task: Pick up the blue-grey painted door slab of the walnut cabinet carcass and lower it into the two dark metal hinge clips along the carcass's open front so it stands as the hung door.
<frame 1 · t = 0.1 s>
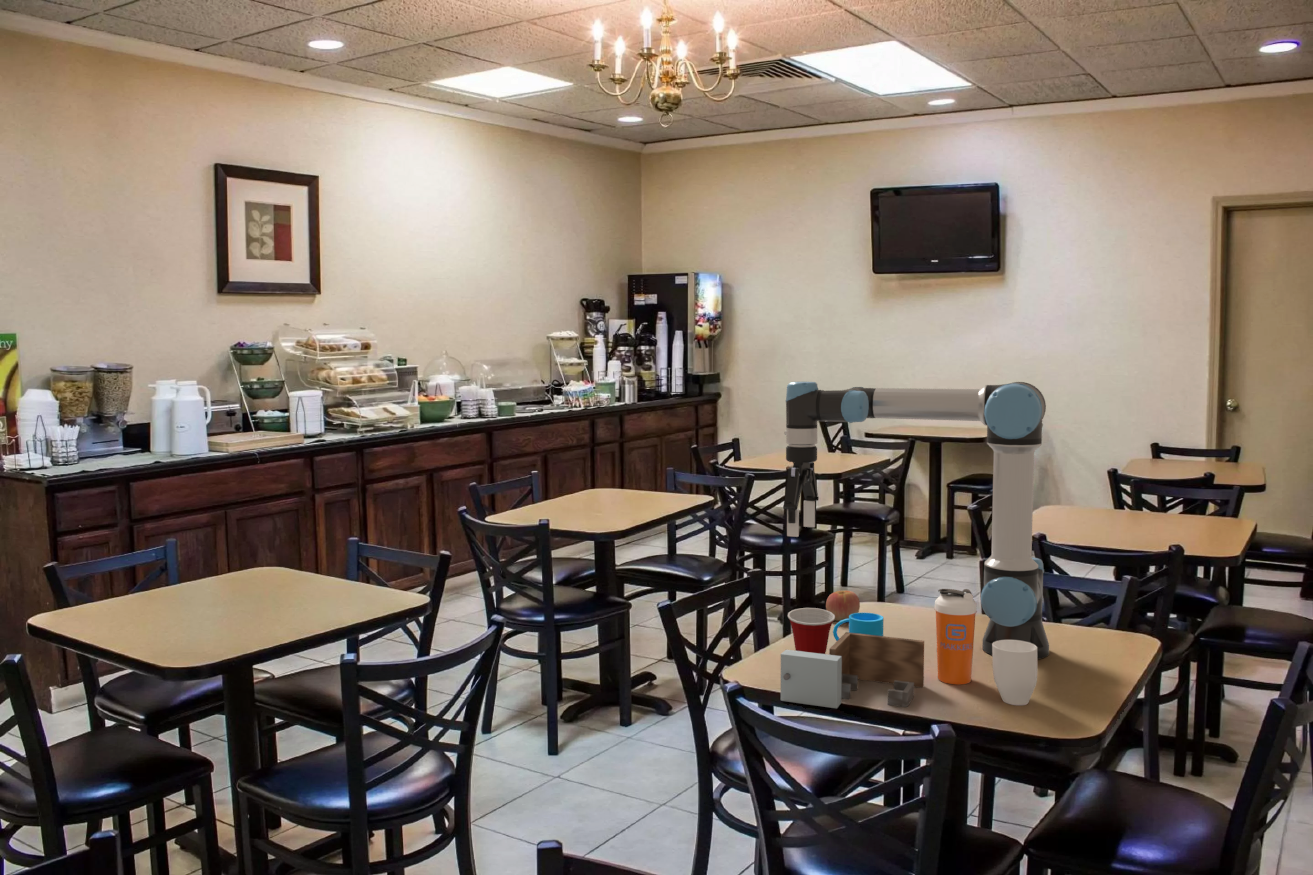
hand: (801, 531, 259), 28 cm above the table, fingers open, 13 cm apart
plastic cup: (811, 665, 244), on the table
apple: (842, 621, 282), on the table
shaker bottle: (954, 680, 233), on the table
cabinet: (872, 696, 222), on the table
door: (810, 701, 220), on the table
mug: (857, 650, 256), on the table
mug 2: (1012, 699, 220), on the table
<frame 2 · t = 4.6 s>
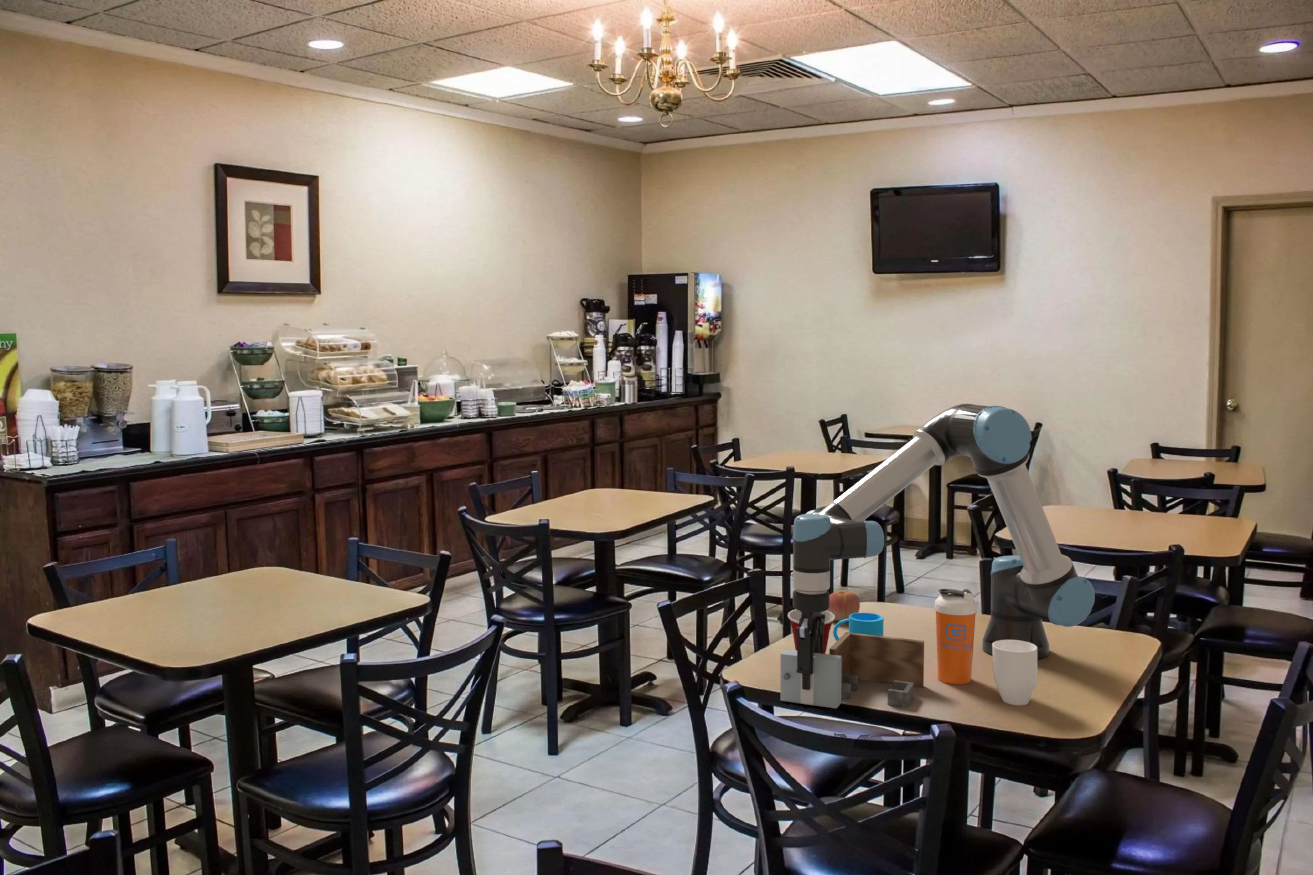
hand: (810, 700, 220), 0 cm above the table, fingers closed on door, 3 cm apart
door: (810, 701, 220), on the table, touching gripper
everything else where it was.
when the fingers open (1 cm above the table, at t = 8.9 s): door drops 1 cm, on the table.
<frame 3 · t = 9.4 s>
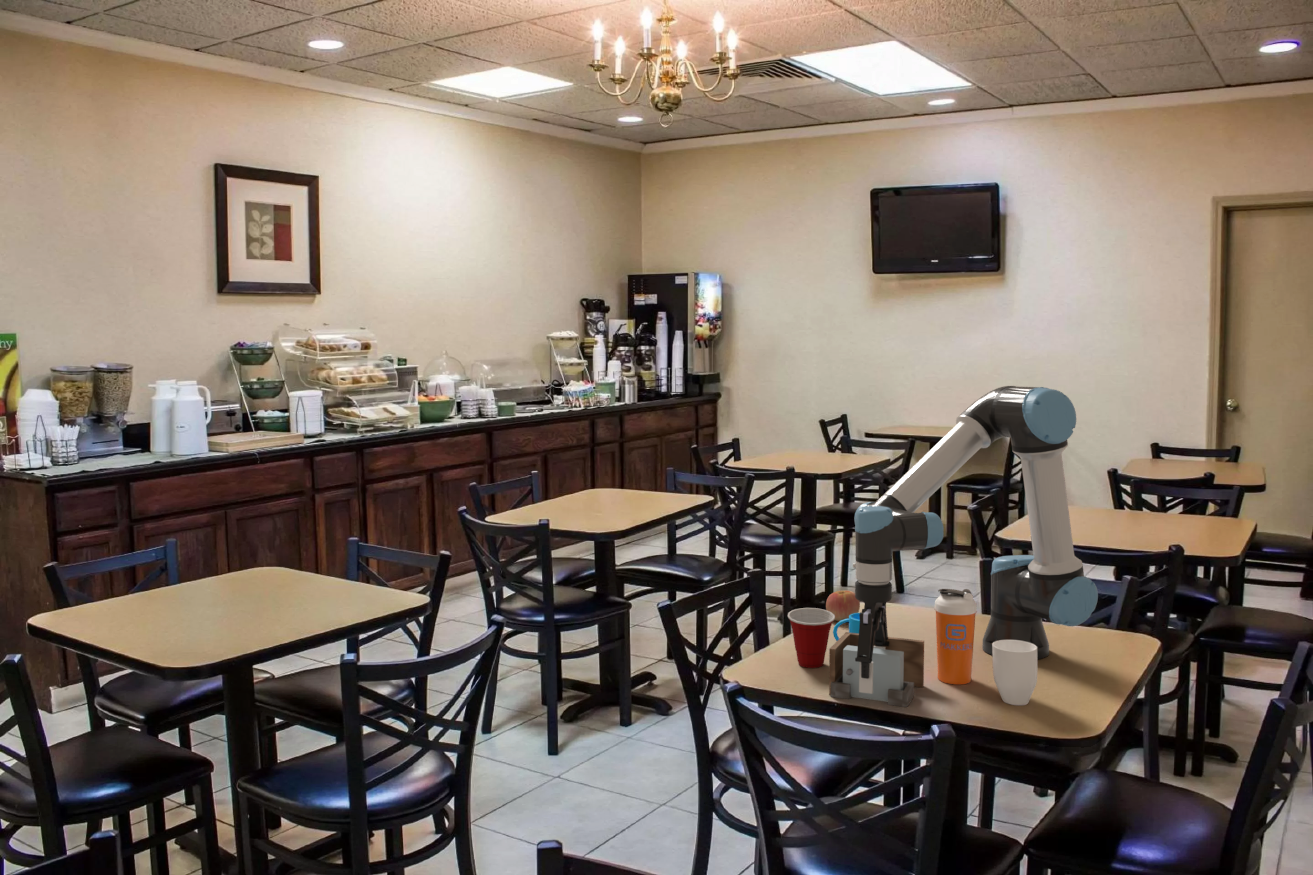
hand: (872, 684, 222), 3 cm above the table, fingers open, 10 cm apart
door: (872, 696, 222), on the table
everything else where it was.
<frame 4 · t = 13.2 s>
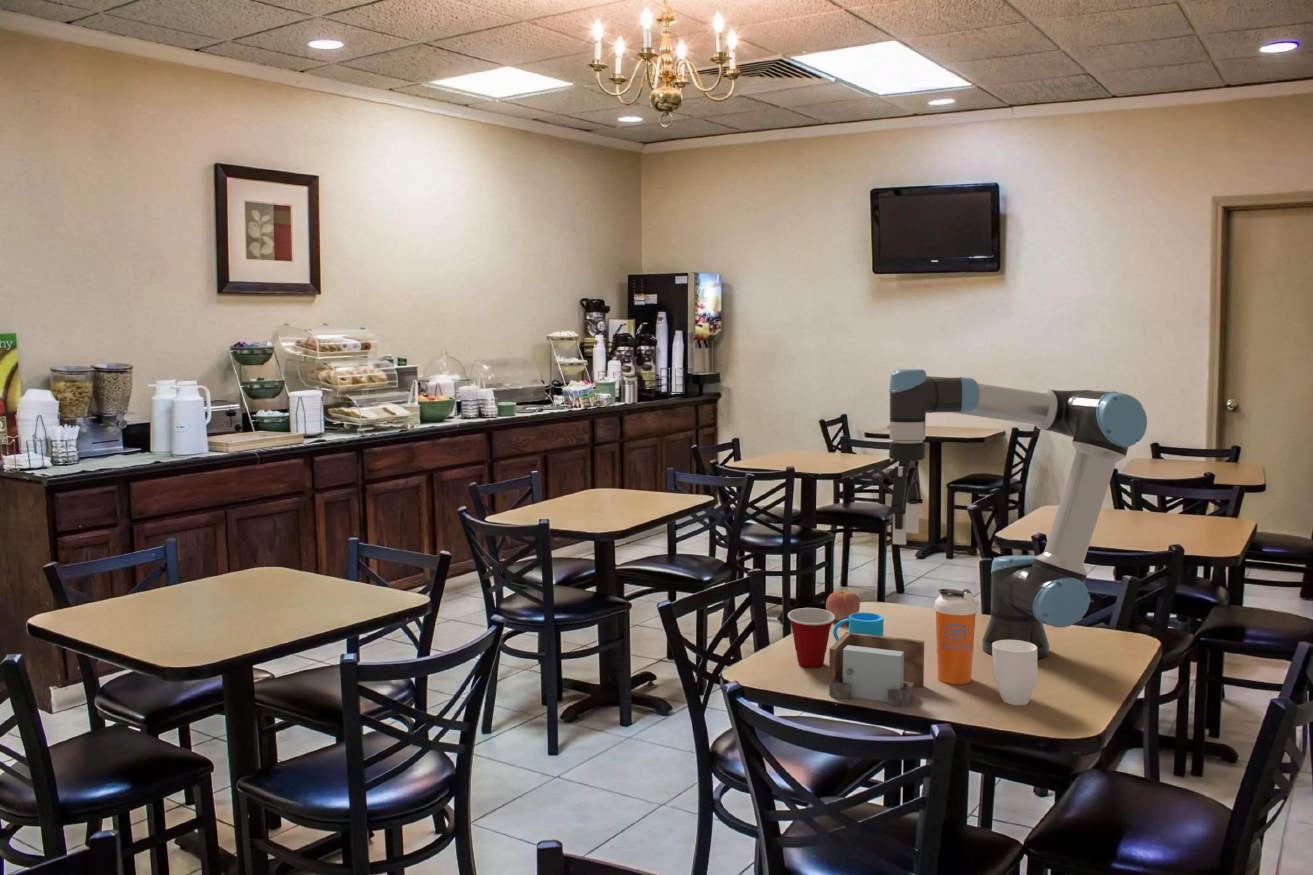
hand: (905, 538, 229), 32 cm above the table, fingers open, 13 cm apart
nothing on the table moved.
at the end: door 0.1 cm off-centre on the cabinet, point 0.0 cm above the cabinet's base; door tilted 0°; the gripper is holding nothing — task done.
